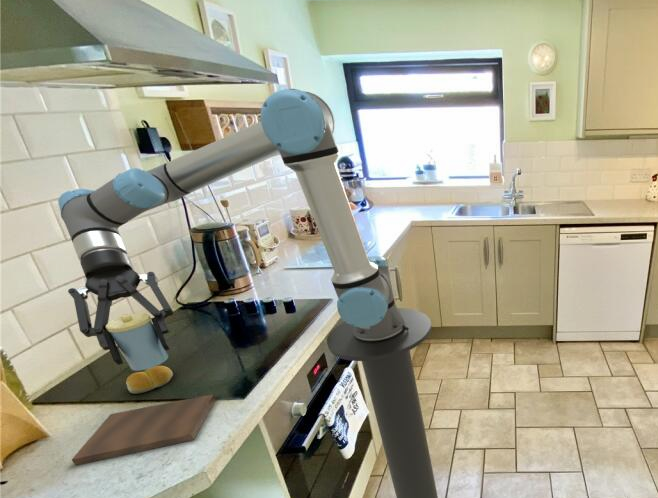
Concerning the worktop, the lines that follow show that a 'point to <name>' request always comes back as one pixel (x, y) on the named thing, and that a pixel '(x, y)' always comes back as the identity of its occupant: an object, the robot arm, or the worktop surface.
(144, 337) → the butter crock
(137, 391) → the bread roll
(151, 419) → the board
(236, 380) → the worktop surface
